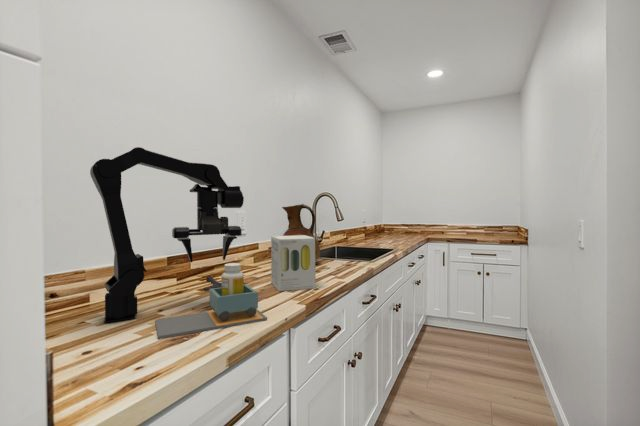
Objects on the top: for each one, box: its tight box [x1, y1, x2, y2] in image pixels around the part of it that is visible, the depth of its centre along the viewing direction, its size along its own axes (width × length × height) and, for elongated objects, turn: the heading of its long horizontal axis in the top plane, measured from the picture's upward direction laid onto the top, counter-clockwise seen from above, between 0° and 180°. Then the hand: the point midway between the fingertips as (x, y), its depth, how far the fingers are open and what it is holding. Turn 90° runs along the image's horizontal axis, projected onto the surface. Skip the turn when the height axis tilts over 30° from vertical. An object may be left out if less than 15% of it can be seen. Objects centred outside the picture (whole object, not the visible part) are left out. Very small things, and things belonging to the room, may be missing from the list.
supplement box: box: [270, 235, 316, 292], centre depth 116 cm, size 13×13×18 cm
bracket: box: [203, 275, 222, 292], centre depth 119 cm, size 14×15×3 cm
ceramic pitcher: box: [281, 203, 321, 262], centre depth 162 cm, size 20×20×30 cm
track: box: [154, 309, 268, 340], centre depth 80 cm, size 24×12×1 cm, turn 119°
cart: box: [209, 284, 259, 321], centre depth 82 cm, size 10×10×6 cm
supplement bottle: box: [221, 262, 245, 296], centre depth 82 cm, size 5×5×10 cm
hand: (207, 261), depth 96 cm, fingers open, 9 cm apart
